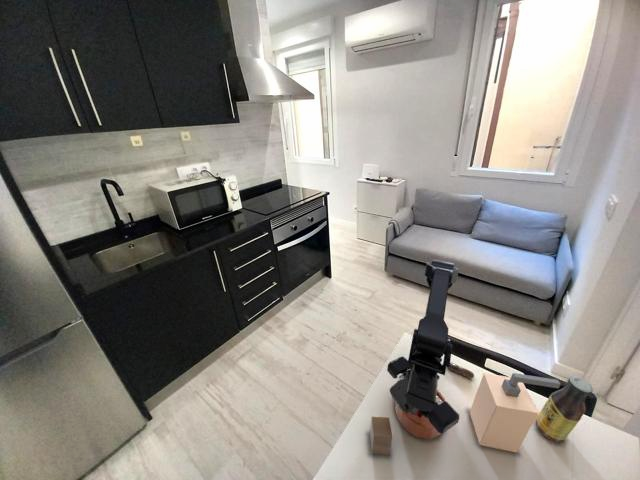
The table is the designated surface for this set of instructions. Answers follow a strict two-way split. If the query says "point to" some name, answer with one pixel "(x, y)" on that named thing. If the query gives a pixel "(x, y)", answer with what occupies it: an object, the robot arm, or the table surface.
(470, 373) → the brown bumpy bar
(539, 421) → the sauce bottle
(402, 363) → the robot arm
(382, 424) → the wooden stand
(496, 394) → the soap dispenser
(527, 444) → the table surface
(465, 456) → the table surface
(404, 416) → the bowl
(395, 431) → the table surface
